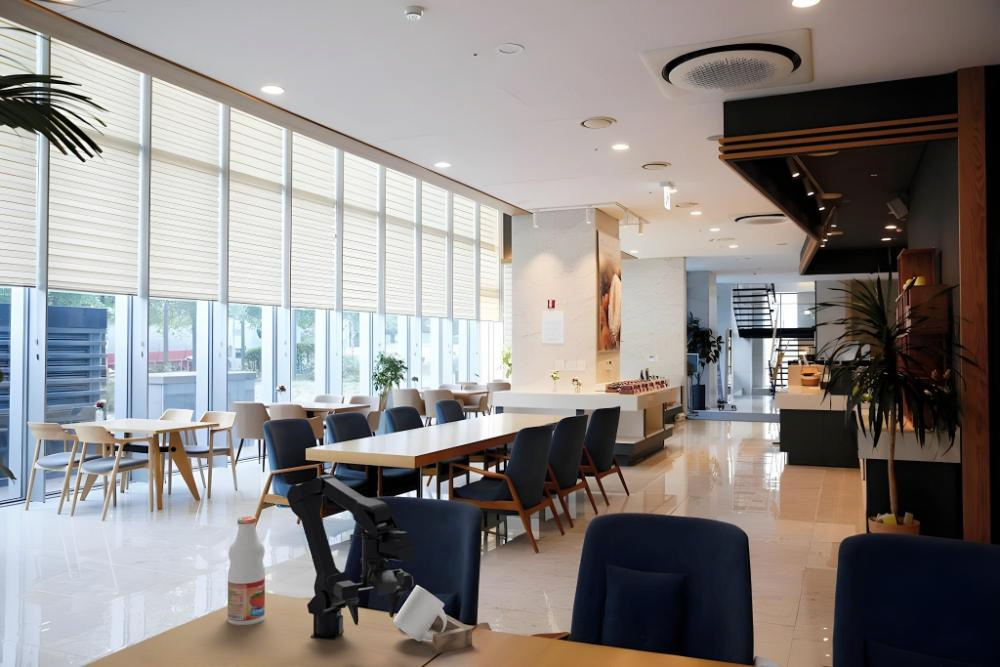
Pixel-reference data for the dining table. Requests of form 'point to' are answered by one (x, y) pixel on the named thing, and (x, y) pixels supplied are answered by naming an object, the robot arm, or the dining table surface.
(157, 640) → the dining table surface
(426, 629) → the mug
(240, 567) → the fruit juice
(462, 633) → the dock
